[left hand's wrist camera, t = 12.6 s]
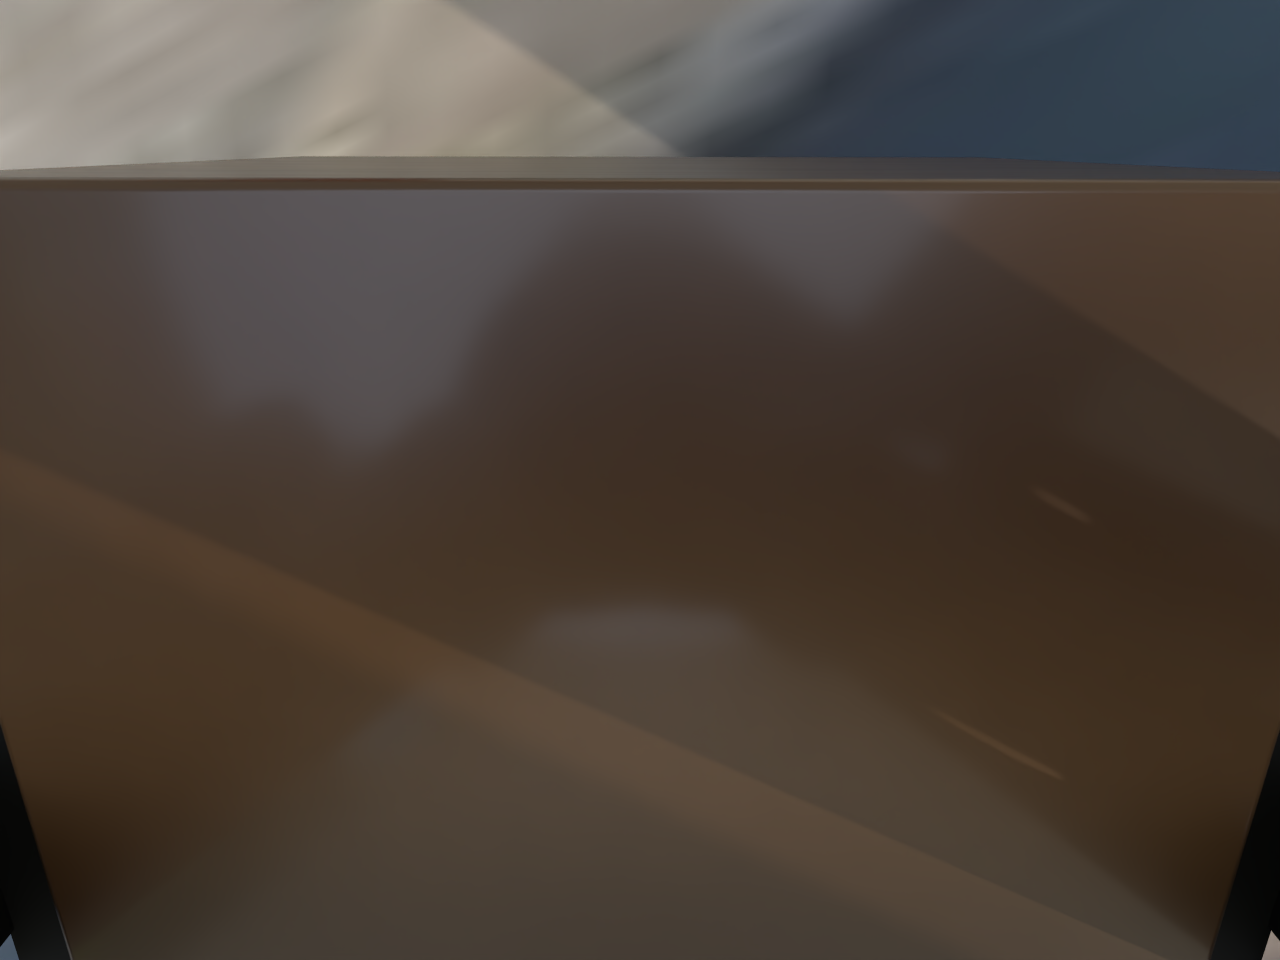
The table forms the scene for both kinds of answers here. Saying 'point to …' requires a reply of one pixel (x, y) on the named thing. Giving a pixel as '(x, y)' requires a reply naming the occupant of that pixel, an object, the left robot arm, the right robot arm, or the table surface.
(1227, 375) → the wide beam
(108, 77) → the table surface
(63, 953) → the left robot arm
